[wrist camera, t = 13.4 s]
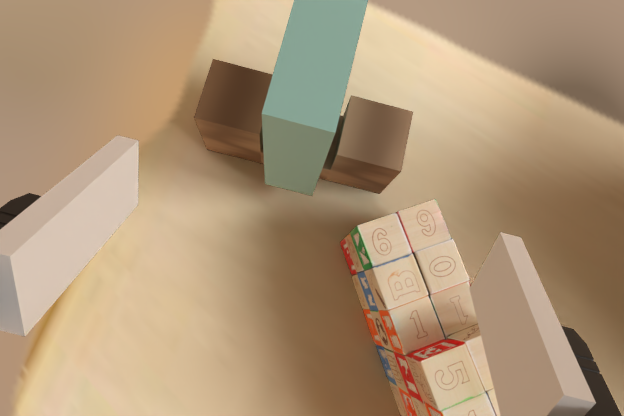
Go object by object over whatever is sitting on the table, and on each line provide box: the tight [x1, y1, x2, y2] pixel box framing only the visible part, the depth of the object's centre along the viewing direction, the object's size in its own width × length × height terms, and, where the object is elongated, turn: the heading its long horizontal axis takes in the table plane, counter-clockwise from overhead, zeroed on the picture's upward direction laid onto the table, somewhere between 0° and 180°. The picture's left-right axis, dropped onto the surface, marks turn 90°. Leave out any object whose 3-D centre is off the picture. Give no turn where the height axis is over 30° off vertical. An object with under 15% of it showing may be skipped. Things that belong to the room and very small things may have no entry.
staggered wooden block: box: [194, 59, 413, 194], centre depth 38 cm, size 16×5×7 cm, turn 76°
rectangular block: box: [262, 0, 368, 196], centre depth 32 cm, size 4×10×14 cm, turn 166°
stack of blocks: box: [340, 199, 501, 416], centre depth 33 cm, size 21×6×12 cm, turn 19°
